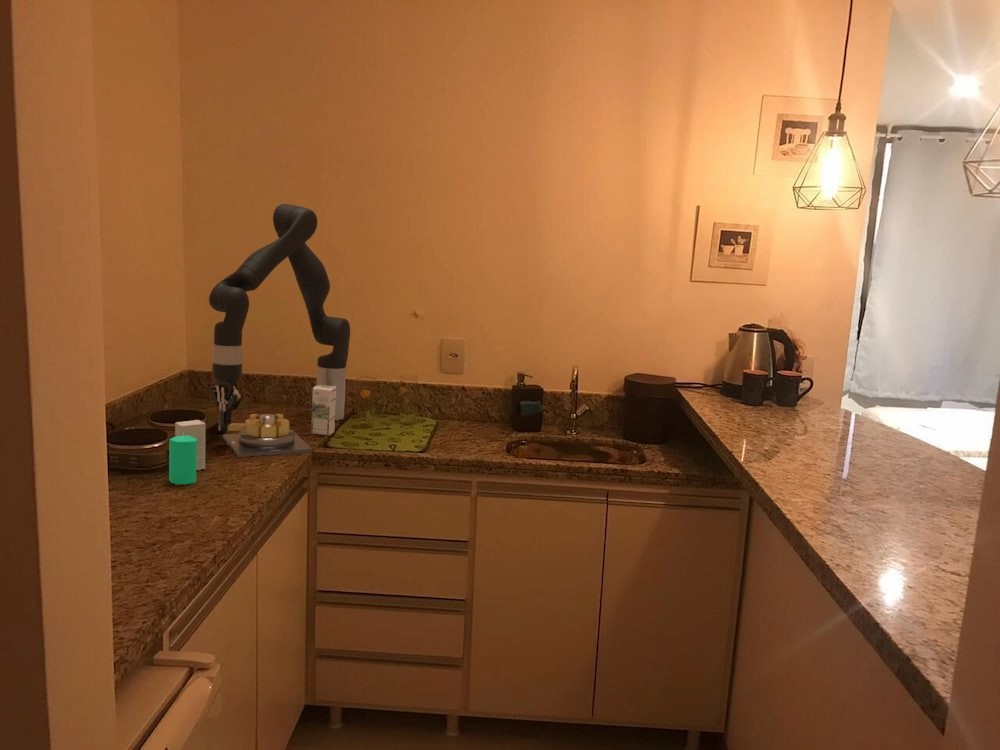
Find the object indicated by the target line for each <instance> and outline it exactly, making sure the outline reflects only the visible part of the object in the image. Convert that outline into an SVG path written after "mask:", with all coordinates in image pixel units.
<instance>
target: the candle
mask: <svg viewBox="0 0 1000 750" xmlns="http://www.w3.org/2000/svg"><path fill="white" fill-rule="evenodd" d="M168 440H169V443H168V444H169V454H168V455H169V456H168V457H169V458H168V467H169V468H168V482H169V481H170V482H171V483H174V484H191V483H193V484H195V483H197V471H196V470H197V438H194V437H191V436H184V432H183V436H177V437H175V436H174V437H172V438H170V439H168ZM194 482H195V483H194ZM191 485H192V484H191Z"/></svg>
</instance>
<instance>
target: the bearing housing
mask: <svg viewBox="0 0 1000 750" xmlns="http://www.w3.org/2000/svg"><path fill="white" fill-rule="evenodd" d="M259 415H260V420H261V424H262V425H274V424H275V415H276V414H273V413H272V414H271V413H265V414H263V413H262V414H259ZM222 439H223V441H226V442H225V443H226V445H228V447H229V446H230V447H229V448H230V449H231V451H232V450H233V451H234V452H233V451H232V452H233V453H234V454H235V456H236V455H237V456H236V457H237V458H238V457H239V458H250V457H249V456H254V457H263V456H262V455H268V456H278V454H282V455H293V454H295V453H296V454H305V453H307V454H308V453H313V448H312V447H311V446H310V445H309V444H308V443H306V441H304V439H302V438H301V437H300V436H299V435H298V434H297V433H296V432H295V431H294V430H292V429H290V428H289V434H288V435H284V436H281V437H267V438H261V437H255V436H250V435H247V434H246V432H245V431H239V432H238V433H229V434H227V433H225V434H222ZM292 453H293V454H292ZM247 456H248V457H247Z"/></svg>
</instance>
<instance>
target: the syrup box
mask: <svg viewBox="0 0 1000 750" xmlns="http://www.w3.org/2000/svg"><path fill="white" fill-rule="evenodd" d="M335 403H336V386H326V385H317V384H316V385H314V386H313V387H312V401H311V424H310V425H311V426H310V427H311V430H310V434H311V435H316V434H318V435H319V436H325V435H326V437H328V436H331V435H332V434H333V433H335V427H336V426H335V423H336V422H335Z"/></svg>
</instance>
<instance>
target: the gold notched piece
mask: <svg viewBox="0 0 1000 750" xmlns="http://www.w3.org/2000/svg"><path fill="white" fill-rule="evenodd" d="M249 415H250V416H249V417H250V418H247V419H246V420H245V421H244V422H245V423H244V422H243V423H242V422H240V423H239V422H237V423H234V422H231V424H230V425H223V424H221V411H220V409H219V408H218V431H219V432H231V431H232V432H233V431H234V432H238V431H239V432H240V431H245V432H246V434H247V435H250V436H255V437H261V438H267V437H281V436H284V435H288V434H289V429H290V421H289V419H287V418H284V414H283V413H282V414H281V413H277V414H276V413H275V414H274V415H275V424H274V425H262V424H261V420H260V415H261V414H257V413H252V414H251V413H250V414H249Z"/></svg>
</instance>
